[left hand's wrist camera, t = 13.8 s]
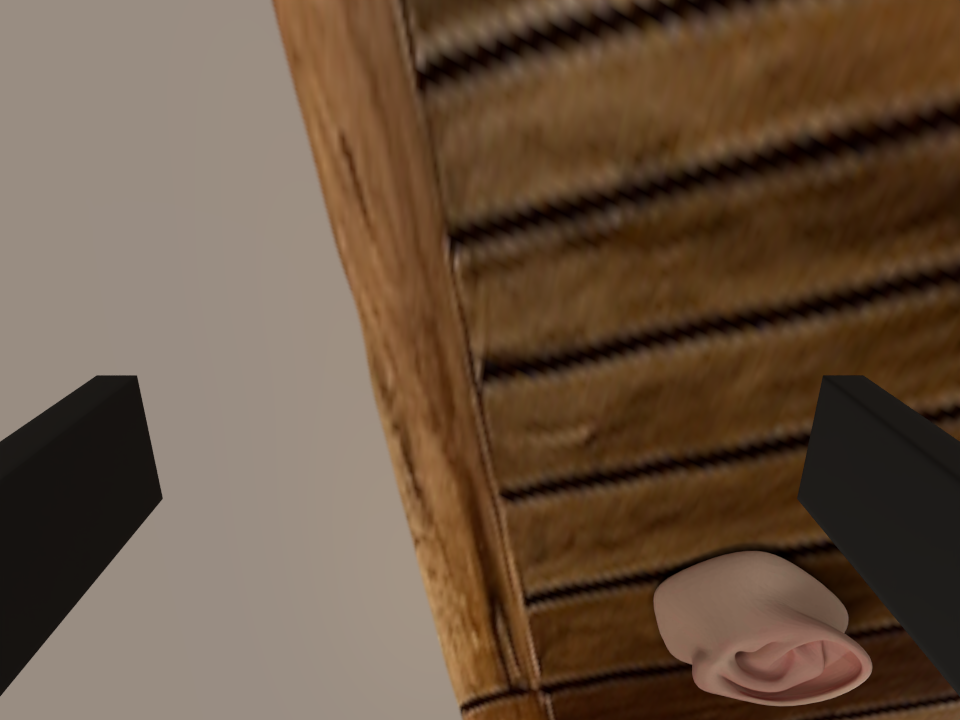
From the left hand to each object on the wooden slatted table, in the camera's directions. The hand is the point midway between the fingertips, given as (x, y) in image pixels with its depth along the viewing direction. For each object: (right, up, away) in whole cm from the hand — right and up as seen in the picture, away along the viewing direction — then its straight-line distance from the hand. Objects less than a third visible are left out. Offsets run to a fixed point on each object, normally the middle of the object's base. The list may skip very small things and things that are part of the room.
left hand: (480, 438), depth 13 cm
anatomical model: (+19, -17, +33) cm, 41 cm away
